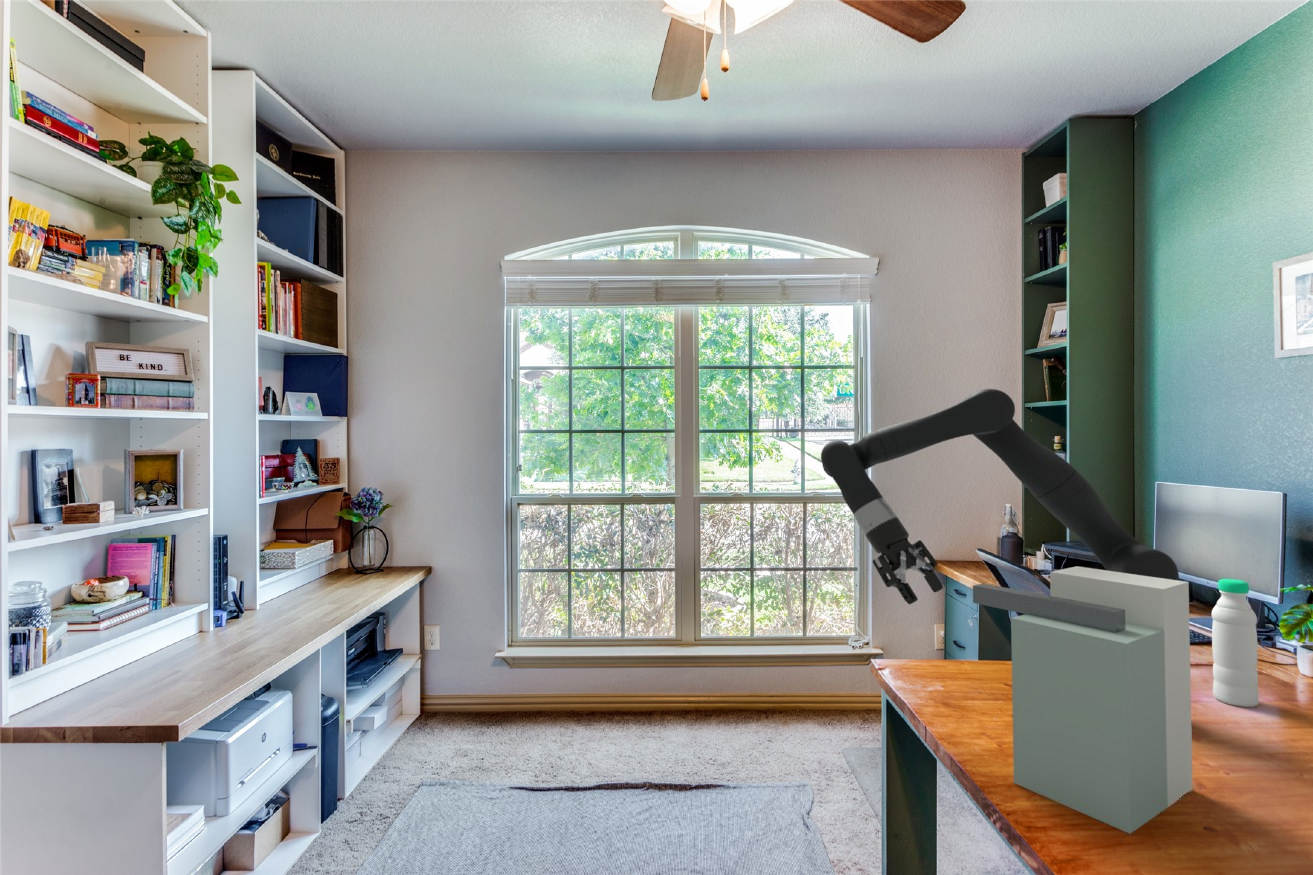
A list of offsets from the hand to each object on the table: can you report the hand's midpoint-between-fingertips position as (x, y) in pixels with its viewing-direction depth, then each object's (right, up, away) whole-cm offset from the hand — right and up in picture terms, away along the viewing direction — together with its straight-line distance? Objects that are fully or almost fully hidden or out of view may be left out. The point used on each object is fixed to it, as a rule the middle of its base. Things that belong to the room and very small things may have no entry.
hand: (926, 596), depth 127 cm
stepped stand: (+16, -23, -26) cm, 39 cm away
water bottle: (+67, -24, +6) cm, 71 cm away
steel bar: (+9, +3, -23) cm, 25 cm away
